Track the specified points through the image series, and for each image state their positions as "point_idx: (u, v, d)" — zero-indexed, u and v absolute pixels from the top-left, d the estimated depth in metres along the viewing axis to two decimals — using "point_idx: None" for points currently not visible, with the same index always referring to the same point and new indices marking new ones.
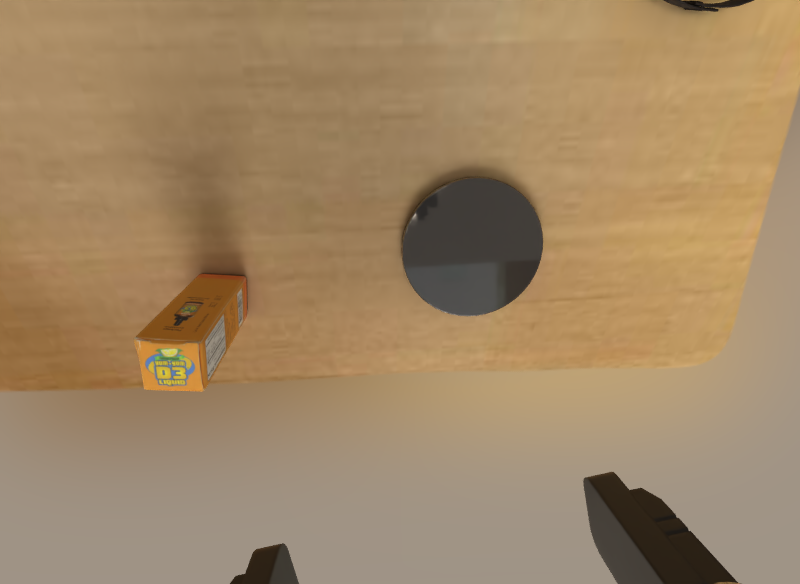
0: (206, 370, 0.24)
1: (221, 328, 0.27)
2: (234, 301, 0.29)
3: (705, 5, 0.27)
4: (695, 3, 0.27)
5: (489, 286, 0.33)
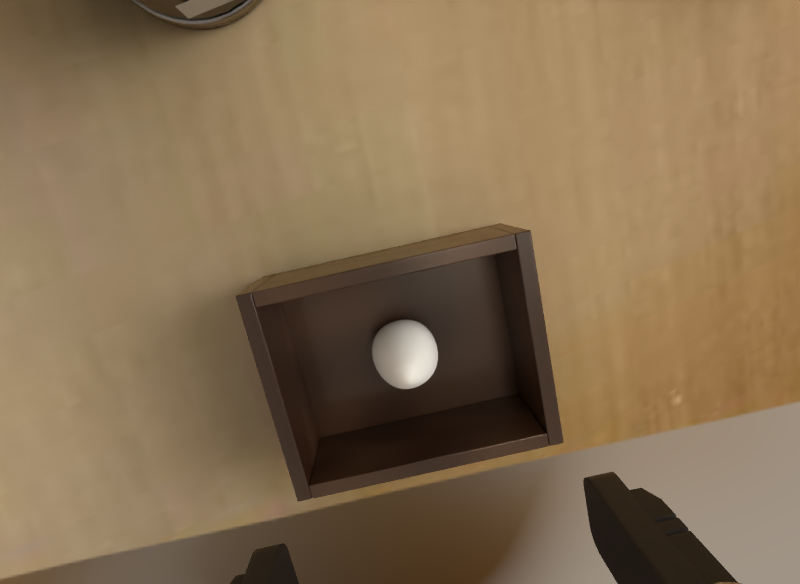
0: None
1: None
2: None
3: None
4: None
5: None
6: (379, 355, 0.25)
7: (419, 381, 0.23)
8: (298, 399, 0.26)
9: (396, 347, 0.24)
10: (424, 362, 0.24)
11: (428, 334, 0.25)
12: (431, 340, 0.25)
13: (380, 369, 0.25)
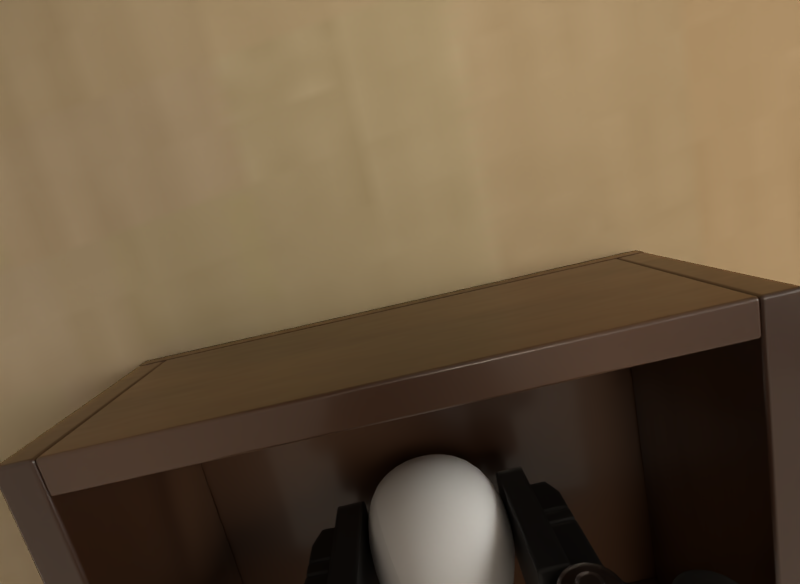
0: None
1: None
2: None
3: None
4: None
5: None
6: (383, 567, 0.10)
7: None
8: None
9: (426, 566, 0.10)
10: None
11: (495, 506, 0.11)
12: (503, 522, 0.11)
13: None
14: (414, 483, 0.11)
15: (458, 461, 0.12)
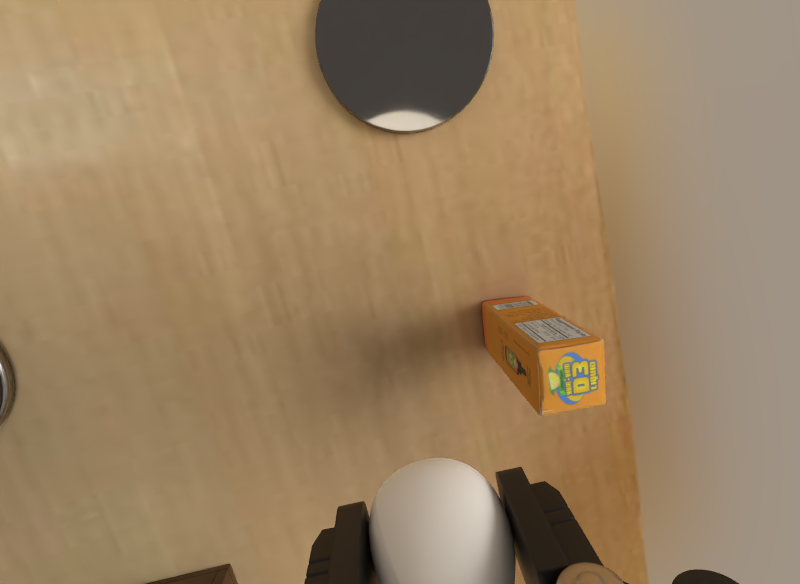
0: (576, 338, 0.20)
1: (530, 324, 0.23)
2: (504, 312, 0.26)
3: None
4: None
5: (447, 1, 0.25)
6: (384, 571, 0.11)
7: None
8: None
9: (427, 570, 0.10)
10: None
11: (495, 510, 0.11)
12: (503, 527, 0.11)
13: None
14: (415, 487, 0.11)
15: (459, 465, 0.12)
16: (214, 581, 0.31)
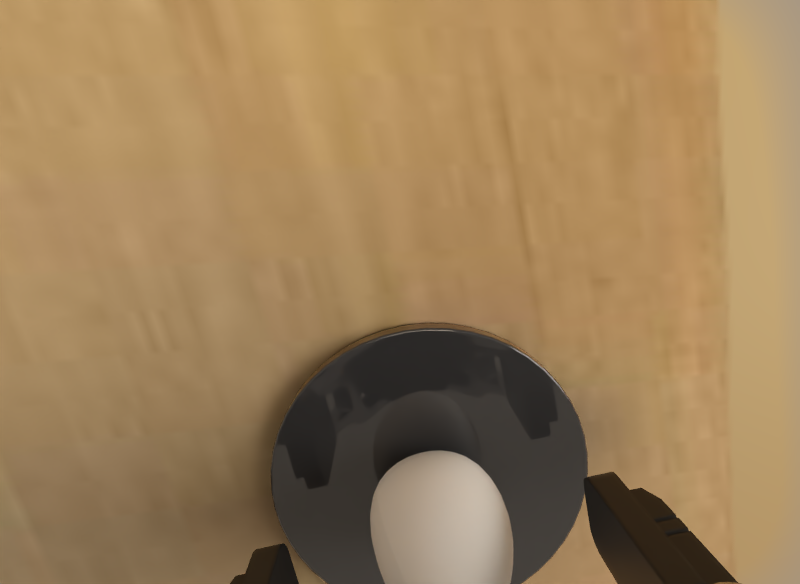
0: None
1: None
2: None
3: None
4: None
5: (509, 426, 0.14)
6: (385, 559, 0.11)
7: None
8: None
9: (427, 558, 0.10)
10: None
11: (494, 500, 0.11)
12: (501, 516, 0.11)
13: None
14: (415, 478, 0.12)
15: (458, 457, 0.13)
16: None
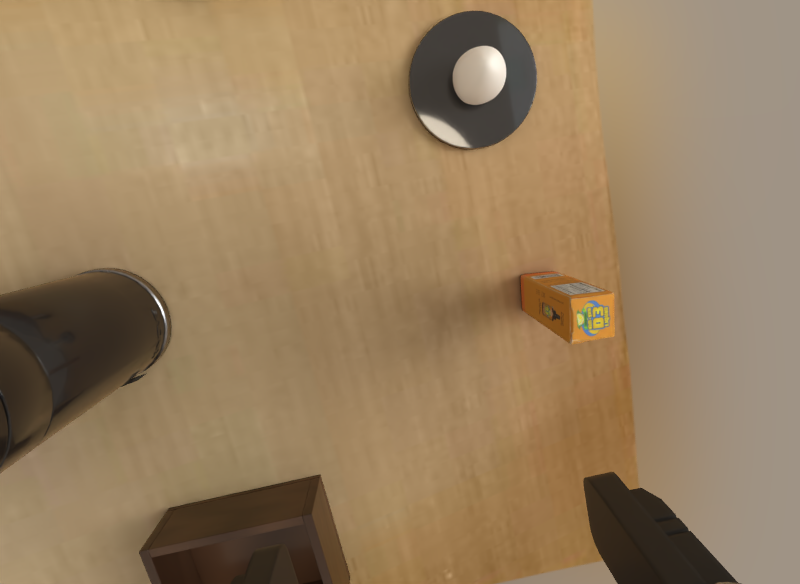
0: (595, 292, 0.30)
1: (562, 286, 0.33)
2: (540, 280, 0.36)
3: None
4: None
5: (505, 56, 0.35)
6: (462, 63, 0.32)
7: (496, 71, 0.31)
8: None
9: (478, 50, 0.31)
10: (500, 59, 0.31)
11: None
12: None
13: (464, 74, 0.32)
14: (471, 49, 0.33)
15: None
16: (311, 485, 0.41)
